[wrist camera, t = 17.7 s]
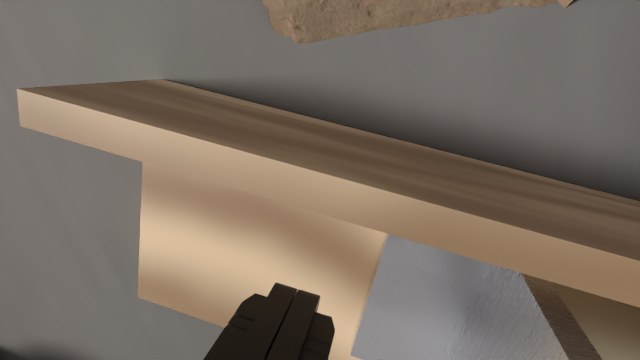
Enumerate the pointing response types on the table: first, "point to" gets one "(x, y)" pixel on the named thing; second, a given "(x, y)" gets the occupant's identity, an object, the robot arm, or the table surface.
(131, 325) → the table surface
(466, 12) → the clay tablet
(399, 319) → the bookend
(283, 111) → the rack
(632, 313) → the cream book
